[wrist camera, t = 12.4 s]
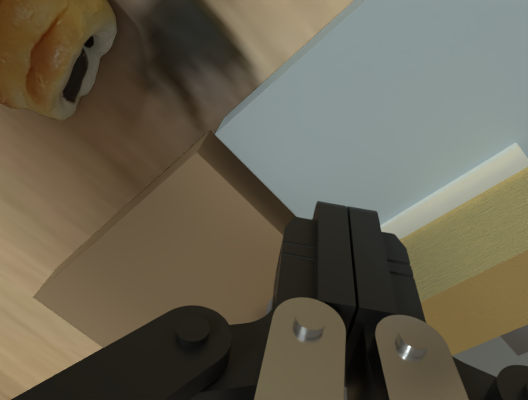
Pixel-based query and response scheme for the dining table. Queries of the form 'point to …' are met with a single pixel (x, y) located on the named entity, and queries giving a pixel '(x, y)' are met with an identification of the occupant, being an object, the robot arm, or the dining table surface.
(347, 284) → the robot arm
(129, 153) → the dining table surface
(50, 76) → the pastry
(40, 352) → the dining table surface
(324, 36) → the door mock-up
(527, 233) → the swing bar
